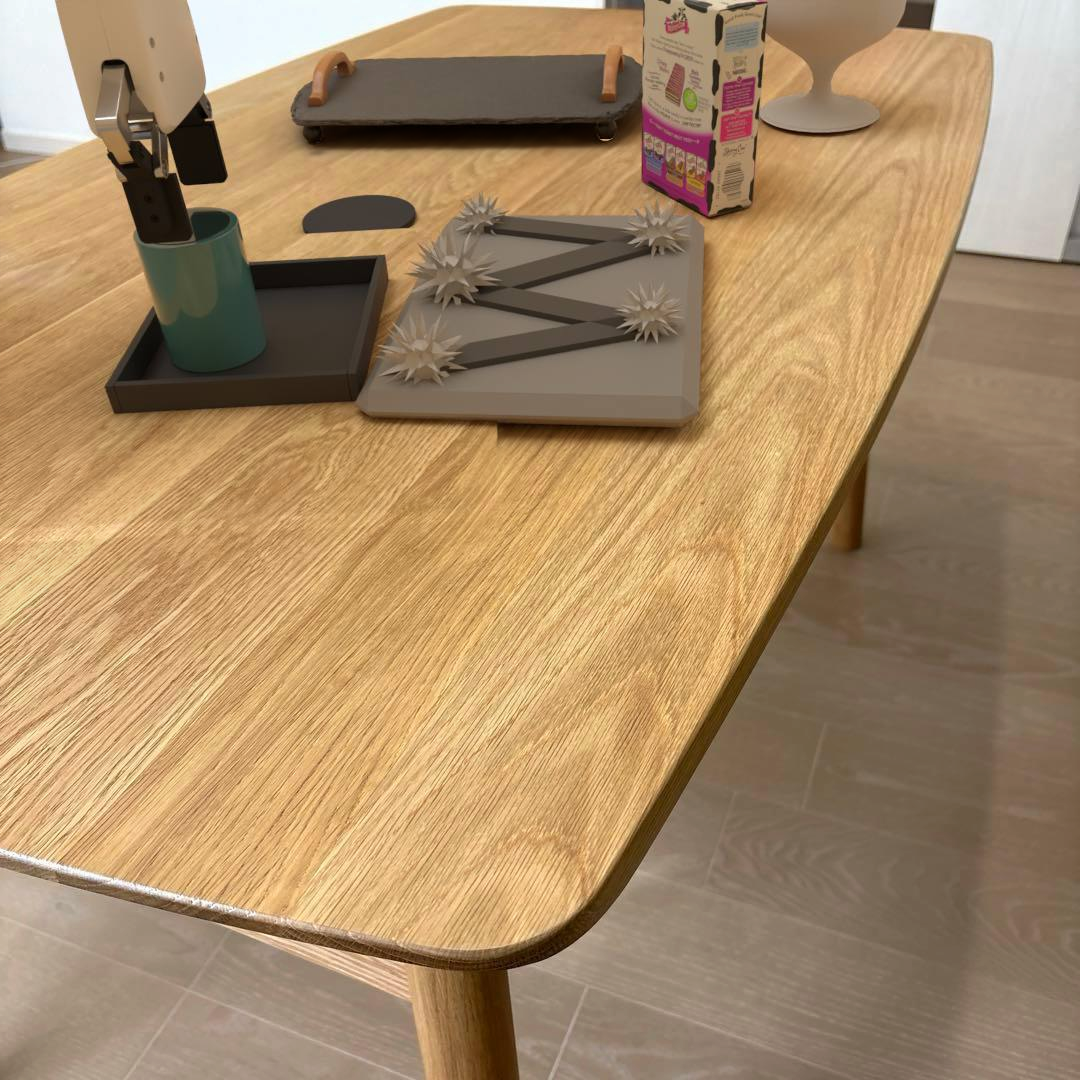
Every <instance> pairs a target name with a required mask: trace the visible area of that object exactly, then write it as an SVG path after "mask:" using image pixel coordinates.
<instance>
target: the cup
mask: <svg viewBox="0 0 1080 1080" xmlns="http://www.w3.org/2000/svg"><path fill="white" fill-rule="evenodd" d="M186 209H187V212H188V216H189V219H190V223H191V226H192V230H193V235H192V237H191V238H190V240H188V241H180V242H167V243H153V244H145V243H143V242H141V240H140V239H139V236H138V233H137V230H136V228H135V229H134V231H133V234H132V239H133V243H134V246H135V248H136V252H137V255H138V256H137V257H138V259H139V263H140V265H141V268H142V272H143V275H144V279H145V281H146V285H147V288H148V291H149V295H150V298H151V301H152V306H153V305H154V308H155V311H156V315H157V318H158V321H159V324H160V328H161V331H162V334H163V338H164V341H165V344H166V347H167V351H168V354H169V357H170V360H171V362H172V363H173V364H174V365H175V366H176V367H178V368H180V369H183V370H186V371H190V372H216V371H223V370H227V369H231V368H235V367H237V366H240V365H243V364H245V363H247V362H249V361H251V360H253V359H254V358H256V357H257V356H258V355H260V354H261V353H262V352H263V350H264V349H265V347H266V345H267V337H266V333H265V329H264V324H263V320H262V316H261V312H260V308H259V303H258V299H257V295H256V291H255V287H254V282H253V278H252V274H251V270H250V266H249V262H250V261H249V258H248V254H247V253H248V252H247V249H246V244H245V241H244V237H243V233H242V228H241V224H240V219H239V217H238V215H237V214H236V213H234V212H233V211H231V210H229V209H225V208H223V207H222V208H221V207H212V206H196V207H186Z"/></svg>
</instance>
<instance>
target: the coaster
mask: <svg viewBox="0 0 1080 1080" xmlns="http://www.w3.org/2000/svg"><path fill="white" fill-rule="evenodd" d="M302 218H303V219H302V222H301V225H302V226H301V227H302V230H303V232H304V234H306V235H311V234H326V233H328V234H329V233H346V232H363V231H382V230H399V229H401V230H402V229H409V228H410V227H411V226H412V225H413V224H414V223H415V221H416V218H417V212H416V209H415V207H414V205H413V204H412V203H411V202H409V201H408V200H406V199H403V198H401V197H398V196H393V195H385V194H384V195H383V194H363V195H352V196H347V197H342V198H337V199H334V200H330V201H327V202H325V203H322V204H320V205H318V206H316V207H314V208H313V209H311V210H309V211H308V212H307V213H306V214H305V215H304V217H302Z"/></svg>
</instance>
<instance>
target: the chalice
mask: <svg viewBox="0 0 1080 1080" xmlns="http://www.w3.org/2000/svg"><path fill="white" fill-rule="evenodd" d="M764 1H768V8H767V22H766V35H767V36H768V37H769V38H770V39H772V41H774V42H776V43H778V44H779V45H781V46H783V47H784V48H786V49H787V50H788V51H790V52H792V53H794V54H795V55H796V56H798V57H800V59H802V60H803V61H804V62H805V63H806V65H808V67H809V70H810V72H811V75H812V85H811V89H810V90H809V91H808V92H807V93H805V92H804V93H795V94H790V95H785V96H780V97H776V98H774V99H772V100H769V101H768V102H766V103H765V104H763V106H760V107H761V108H759V118H760V119H761V120H762V121H764V123H765V122H766V123H767V124H769V125H771V126H774V127H777V128H780V129H784V130H789V131H795V132H805V133H836V132H837V133H839V132H847V131H852V130H857V129H861V128H864V127H867V126H870V125H872V124H874V123H875V122H877V121H878V120H879V118H880V116H881V112H880V110H879V109H878V108H877V106H875V105H874V104H873V103H872V102H870V101H869V100H865V99H863V98H860V97H856V96H852V95H847V94H839V93H834V91H833V90H832V80H833V77H834V74H835V73H836V72H837V70H838V68H840V66H841V65H842V64H843V63H844V62H845V61H846V60H848V59H849V58H851V57H853V56H854V55H856V54H858V53H860V52H862V51H864V50H865V49H868V48H869V47H871V46H873V45H875V44H877V43H879V42H881V41H882V40H884V39H885V38H886V37H888V36H889V35H890V34H892V32H893V31H894V30H895V29H896V28H897V26H899V23H900V21H901V19H902V18H903V16H904V13H905V12H906V11H905V10H906V5H907V0H764Z"/></svg>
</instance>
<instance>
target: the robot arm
mask: <svg viewBox="0 0 1080 1080" xmlns="http://www.w3.org/2000/svg"><path fill="white" fill-rule="evenodd" d="M54 3H55V8H56V12H57V15H58V19H59V24H60V28H61V31H62V35H63V36H62V37H63V40H64V43H65V47H66V50H67V54H68V57H69V58H68V59H69V61H70V65H71V69H72V72H73V76H74V80H75V83H76V87H77V90H78V94H79V97H80V101H81V104H82V108H83V111H84V115H85V117H86V120H87V124H88V127H89V129H90V131H91V132H92V133H93V135H94V136H96V137H97V138H98V139H101V140H102V142H103V144H104V145H105V147H106V151H107V153H106V156H107V159H108V160H109V161H110V163H111V164H112V165H113V166H114V171H115V172H114V173H115V176H116V179H117V180H118V181H119V183H121V185H122V188H123V192H124V196H125V199H126V201H127V205H128V208H129V211H130V213H131V214H130V215H131V218H132V220H133V223H134V227H135V229H136V230H137V233H138V236H139V239H140V240H141V242H143V243H145V244H153V243H167V242H180V241H188V240H190V238H191V237H192V235H193V230H192V226H191V223H190V219H189V216H188V212H187V209H186V208H187V206H186V202H185V199H184V195H183V192H182V187H181V184H182V185H183V186H186V187H189V186H203V185H214V184H224V183H225V182H226V181H227V179H228V178H229V174H228V170H227V165H226V163H225V157H224V155H223V149H222V147H221V146H222V145H221V143H220V139H219V134H218V131H217V127H216V123H215V120H214V119H213V109H212V108H213V107H212V104H211V102H210V99H209V98H208V96H207V95H206V93H205V90H206V86H207V78H206V71H205V64H204V60H203V56H202V52H201V48H200V47H201V46H200V43H199V39H198V34H197V31H196V27H195V24H194V20H193V17H192V12H191V9H190V6H189V3H188V0H54ZM145 120H147V121H145ZM143 140H144V141H145V140H150V142H151V145H150V146H151V152H150V150H148V148H147V147H146V146H145V144H143V142H141V141H143ZM169 148H170V151H171V155H172V158H173V161H174V165H175V169H176V172H170V164H169ZM180 183H181V184H180Z"/></svg>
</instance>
